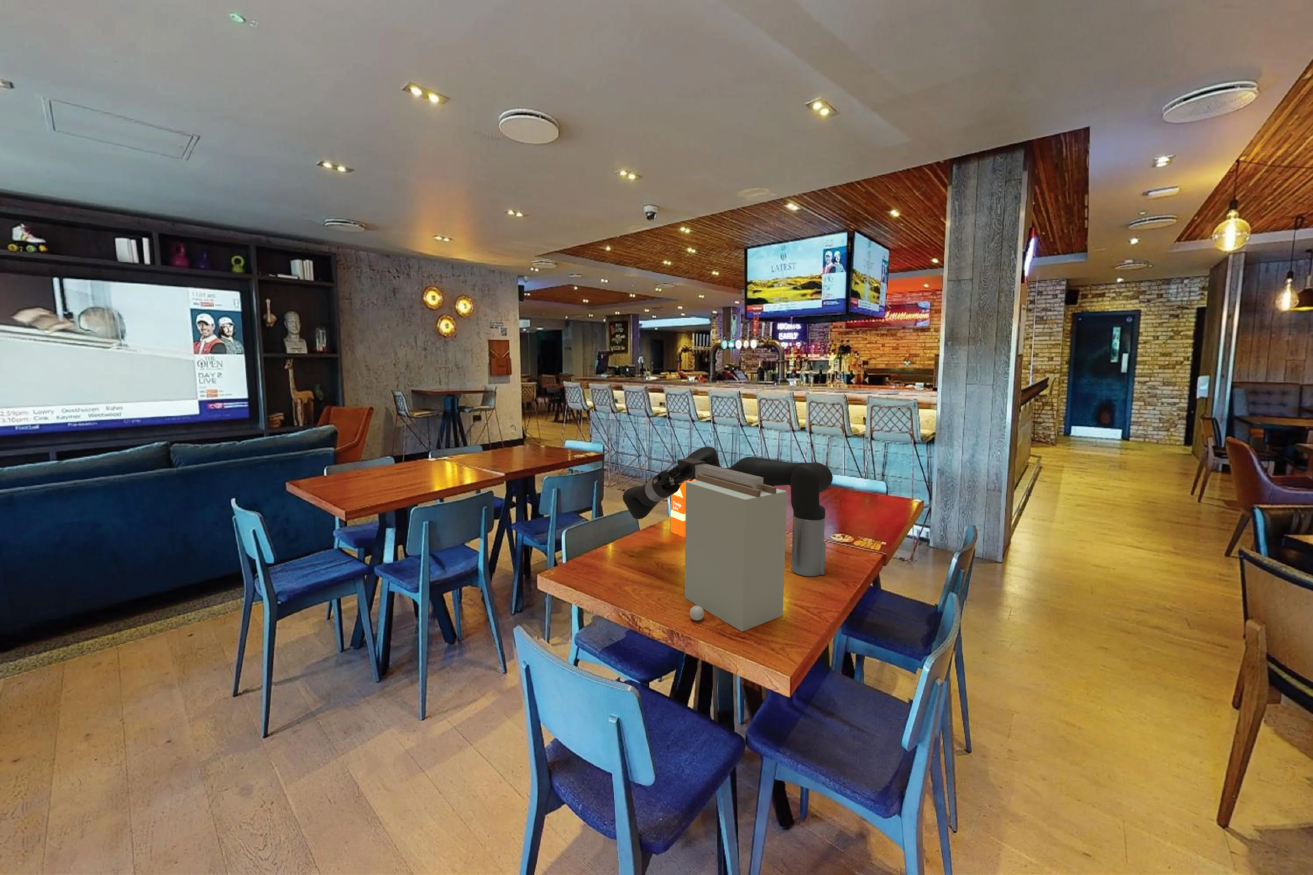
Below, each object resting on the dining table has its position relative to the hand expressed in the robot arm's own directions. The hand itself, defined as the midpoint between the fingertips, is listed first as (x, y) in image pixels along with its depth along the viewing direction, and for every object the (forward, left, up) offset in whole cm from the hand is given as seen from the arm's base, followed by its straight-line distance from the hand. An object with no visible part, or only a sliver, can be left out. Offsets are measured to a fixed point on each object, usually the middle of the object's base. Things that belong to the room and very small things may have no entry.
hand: (691, 467), depth 146 cm
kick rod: (-7, +8, -3) cm, 11 cm away
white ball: (-2, +21, -34) cm, 40 cm away
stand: (-11, +13, -34) cm, 38 cm away
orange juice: (+3, -47, -34) cm, 58 cm away
